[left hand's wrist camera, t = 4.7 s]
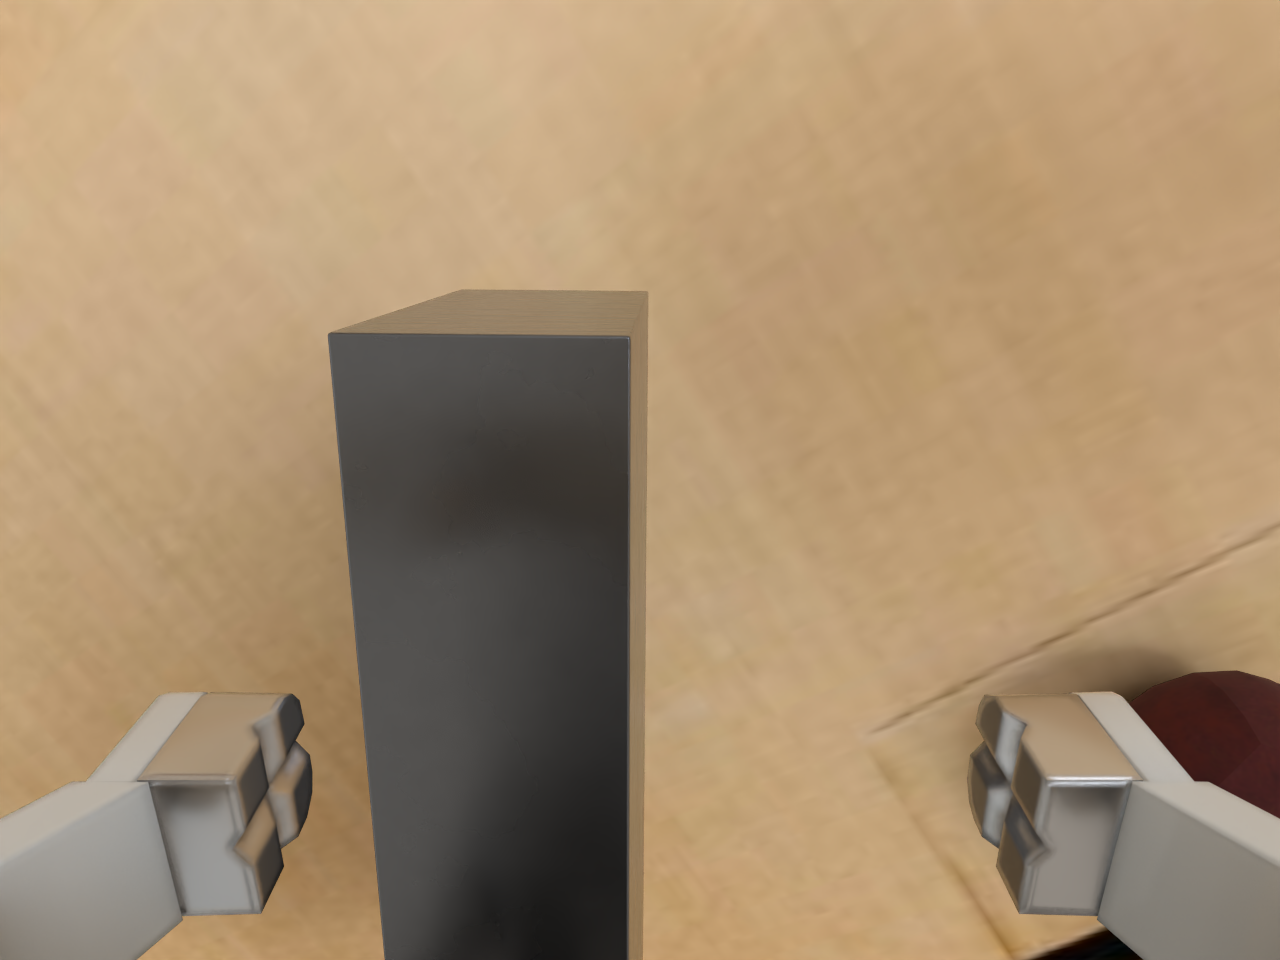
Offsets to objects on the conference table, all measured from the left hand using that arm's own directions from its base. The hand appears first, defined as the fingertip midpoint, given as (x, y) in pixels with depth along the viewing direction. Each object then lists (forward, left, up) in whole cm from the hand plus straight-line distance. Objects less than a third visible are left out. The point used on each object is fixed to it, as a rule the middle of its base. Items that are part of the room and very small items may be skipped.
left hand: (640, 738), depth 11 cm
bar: (-1, +8, -13) cm, 15 cm away
